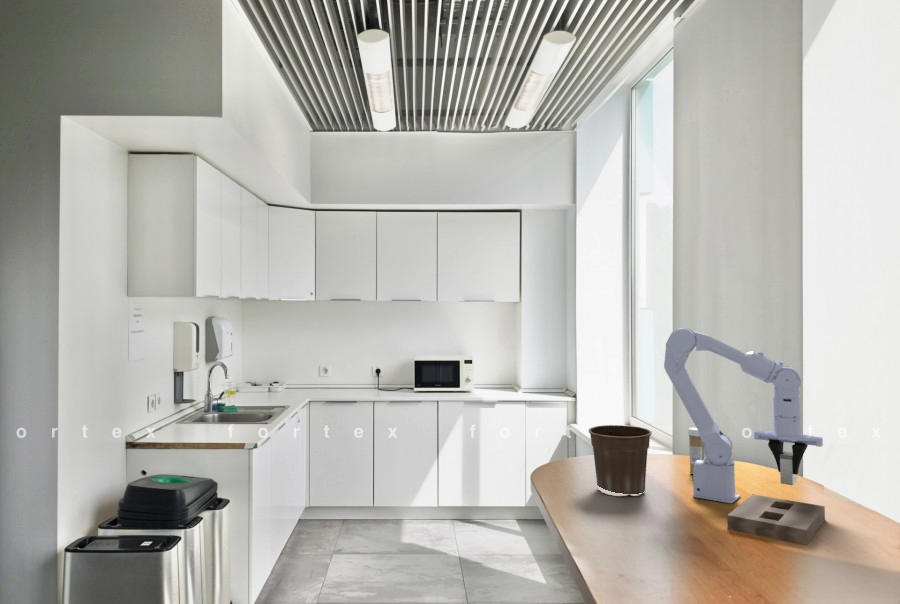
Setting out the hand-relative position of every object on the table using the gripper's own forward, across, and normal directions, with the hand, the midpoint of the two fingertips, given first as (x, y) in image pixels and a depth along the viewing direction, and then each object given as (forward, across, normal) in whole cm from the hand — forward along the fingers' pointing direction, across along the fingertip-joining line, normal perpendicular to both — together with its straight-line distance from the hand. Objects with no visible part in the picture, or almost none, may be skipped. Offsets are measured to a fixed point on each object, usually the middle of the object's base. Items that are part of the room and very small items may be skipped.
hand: (788, 472), depth 148 cm
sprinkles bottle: (+8, -27, +16) cm, 32 cm away
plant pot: (+8, -37, -14) cm, 40 cm away
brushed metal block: (+2, 0, 0) cm, 2 cm away
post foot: (+8, +1, -17) cm, 19 cm away
